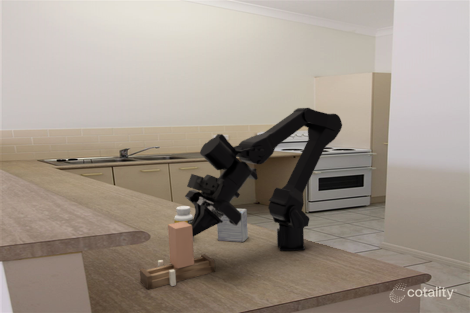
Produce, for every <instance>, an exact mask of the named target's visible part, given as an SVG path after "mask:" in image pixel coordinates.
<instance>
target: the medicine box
mask: <svg viewBox="0 0 470 313" xmlns="http://www.w3.org/2000/svg"><path fill="white" fill-rule="evenodd" d="M236 209H237V210H238V211H239V212H240V213H241V215H242V219H241V221H240V222H239V224H238V225H237V226H236V225H233V224H231V223H230V222H229V219H228V218H227V217H226V216H225V215H224V216H223V217H222V219H221V220H222V221H223V222H222V223H219V224H217V225H216V228H217V230H216V231H217V241H225V242H226V241H227V242H238V243H240V242H241V243H244V242H245V241H246V240H247V239H248V238H249V232H248V231H249V230H248V229H249V228H248V213H247V212H248V210H247V208H236Z"/></svg>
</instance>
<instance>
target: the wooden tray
mask: <svg viewBox="0 0 470 313" xmlns="http://www.w3.org/2000/svg"><path fill="white" fill-rule="evenodd" d="M173 269H174V265H173V264H171V263H170V264H166V265H164V266H161V267H158V266H157V267H153V268H149V269H145V268H143V267H142V268H140V269H139V278H140V283H141V284H143V286H144V287H145V288H146V289H147V290H151V289H155V288H159V287H162V286H163V287H164V286H166V285H170V277H169V270H173ZM174 270H175V276H176V283H178V282H182V281H184V280H189V279H192V278H196V277H201V276H204V275H209V274H212V273H215V272H216V268H215V259H213V258H212V257H210V256H208V255H207V254H206V253H203V254H200V256H199V257H194V265H190V266H186V267H182V268H175V269H174Z"/></svg>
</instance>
